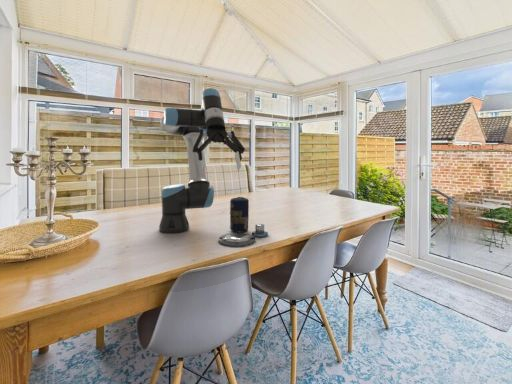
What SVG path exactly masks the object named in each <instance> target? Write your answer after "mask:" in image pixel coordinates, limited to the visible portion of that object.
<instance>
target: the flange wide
mask: <svg viewBox="0 0 512 384" xmlns="http://www.w3.org/2000/svg"><path fill="white" fill-rule="evenodd" d="M217 239H218V241H217V242H218V244H220V245H222V246H225V247H231V248H242V247H248V246H251V245H253V244H255V243H256V237H254V236H252V234H248V233H245V232H233V233H232V232H231V233H226V234H223V235H220V236H219V237H218V238H217Z"/></svg>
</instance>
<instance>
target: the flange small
mask: <svg viewBox="0 0 512 384" xmlns="http://www.w3.org/2000/svg"><path fill="white" fill-rule="evenodd" d="M251 235H252V236H254V237H255V238H257V239H259V238H262V239H263V238H267V237H269V233H268V231H265V224H264V223H256V224H255V230H254V231H252V232H251Z"/></svg>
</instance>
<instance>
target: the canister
mask: <svg viewBox="0 0 512 384" xmlns="http://www.w3.org/2000/svg"><path fill="white" fill-rule="evenodd" d="M229 205H230V206H229V209H230V210H229V215H230V216H229V217H230V218H229V226H230V227H229V229H230V230H231V231H232V232H233V233H245V232H247V231H248V230H249V208H250V207H249V199H248V198H246V197H243V196H238V197H234V198H233V197H232V198H231V199H230V201H229Z"/></svg>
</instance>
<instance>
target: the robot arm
mask: <svg viewBox="0 0 512 384" xmlns="http://www.w3.org/2000/svg"><path fill="white" fill-rule="evenodd" d="M220 94H221V93H220V91H219V90H217V89H216V88H214V87H213V88H212V87H208V88H206V89H203V91H202V93H201V101H202V104H201V108H199V109H195V108H182V107H181V108H180V107H165V108H164V112H163V116H162V117H161V119H160V126H161V129H162V130H163V131H164V132H166V133H168V134H171V135H174V136H182V137H183V140H184V141H185V142H186V148H187V160H188V171H189V182H188V183H187V186H186V185H185V184H184V183H181V184H180V183H179V184H177V183H176V184H171V185H168V186H167V185H166V186H164V187H162V189H161V213H162V214H161V219H160V221H159V225H158V226H159V227H158V231H159V232H161V233H164V234H177V233H183V232H186V231H189V230H190V223H189V220H188V218H187V215H186V210H189V209H191V210H192V209H194V210H195V209H206V208H210V207H212V205H213V204H214V198H215V197H214V196H215V188H214V186H213V185H210V181H209V180H207V175H206V157H205V151H204V150H206V148H207V147H209V146H208V145H209V144H211V143H212V142H213V143H219V144H222V143H223V144H224V145H226V146H227V147H228V148H229V149H230V150H231V151H233V152H234V158H235V163H236V168H237V170H240V169H241V167H242V160H243V157H242V154H244V153H245V151H246V148H245V147H244V145H243V144H242V143H241V142H240V140H239V139H238V137H237V136H236V134H235V133H234V130H231V131H230V132H228V131H227V130H226V129H227V128H226V124H225V123H226V122H225V119H224V111H223V107H222V106H223V105H222V98H221V96H220ZM205 136H206V137H207V138H206V139H205ZM204 139H205V140H204ZM203 140H204V141H203Z"/></svg>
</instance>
